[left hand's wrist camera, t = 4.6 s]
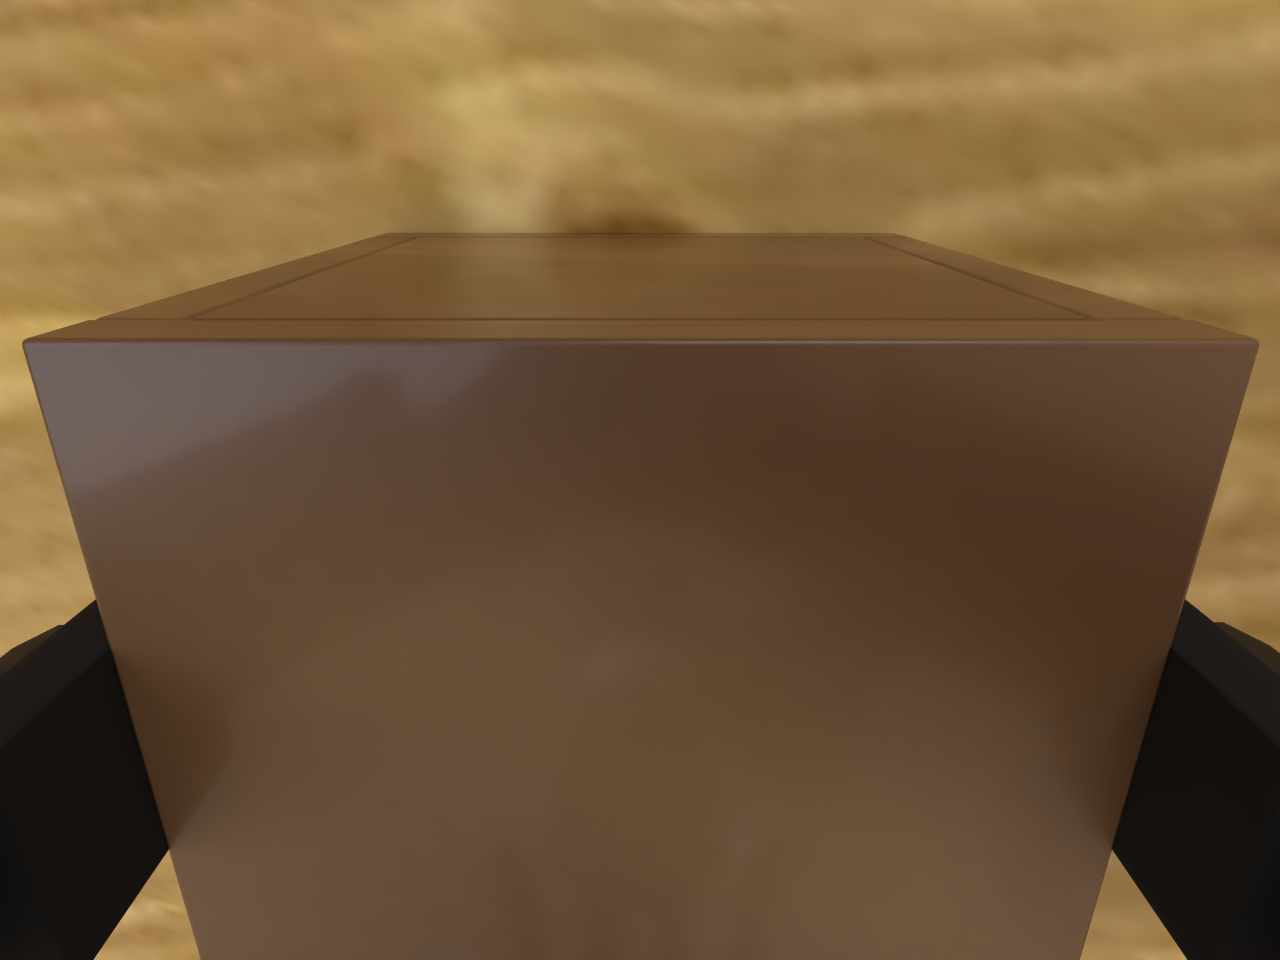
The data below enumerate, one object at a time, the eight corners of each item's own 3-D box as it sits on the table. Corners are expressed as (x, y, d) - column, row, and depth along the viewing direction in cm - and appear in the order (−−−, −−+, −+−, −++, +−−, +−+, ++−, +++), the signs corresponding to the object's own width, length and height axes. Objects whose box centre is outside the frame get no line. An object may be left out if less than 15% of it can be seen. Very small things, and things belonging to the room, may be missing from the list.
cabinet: (816, 936, 24) (935, 1459, 15) (463, 936, 24) (345, 1459, 15) (897, 232, 17) (1263, 339, 7) (382, 232, 17) (15, 339, 7)
